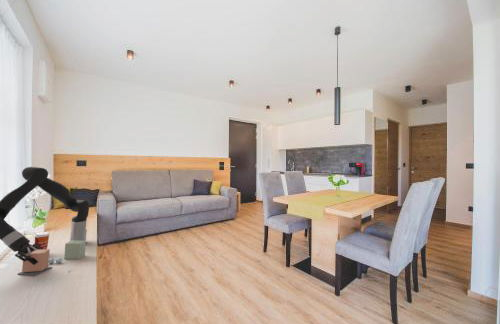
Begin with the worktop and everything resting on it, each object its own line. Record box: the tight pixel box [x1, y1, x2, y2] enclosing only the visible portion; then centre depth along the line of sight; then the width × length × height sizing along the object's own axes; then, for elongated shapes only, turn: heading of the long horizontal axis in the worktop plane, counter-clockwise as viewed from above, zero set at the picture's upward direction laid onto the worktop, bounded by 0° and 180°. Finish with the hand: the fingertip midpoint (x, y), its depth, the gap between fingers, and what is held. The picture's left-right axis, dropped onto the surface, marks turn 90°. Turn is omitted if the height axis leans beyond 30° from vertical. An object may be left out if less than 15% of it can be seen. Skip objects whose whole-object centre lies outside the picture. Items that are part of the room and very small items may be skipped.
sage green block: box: [63, 240, 87, 260], centre depth 147 cm, size 9×6×10 cm, turn 97°
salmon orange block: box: [21, 248, 50, 272], centre depth 127 cm, size 9×6×10 cm, turn 106°
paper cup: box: [33, 231, 51, 250], centre depth 149 cm, size 8×8×14 cm
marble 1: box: [48, 257, 56, 264], centre depth 137 cm, size 3×3×3 cm
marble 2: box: [55, 257, 63, 264], centre depth 138 cm, size 3×3×3 cm
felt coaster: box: [17, 266, 53, 277], centre depth 126 cm, size 10×10×1 cm
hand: (39, 260), depth 127 cm, fingers closed on salmon orange block, 6 cm apart
